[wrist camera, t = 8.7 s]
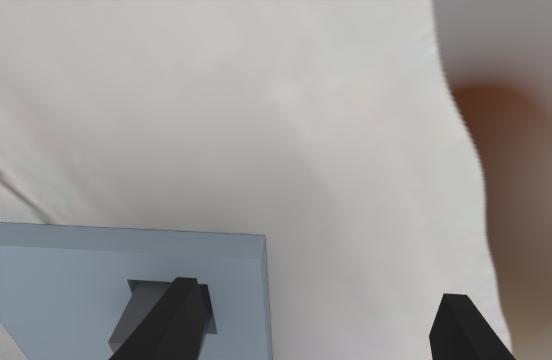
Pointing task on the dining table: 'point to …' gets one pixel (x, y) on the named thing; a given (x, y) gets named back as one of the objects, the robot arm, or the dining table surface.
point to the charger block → (144, 302)
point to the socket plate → (126, 287)
